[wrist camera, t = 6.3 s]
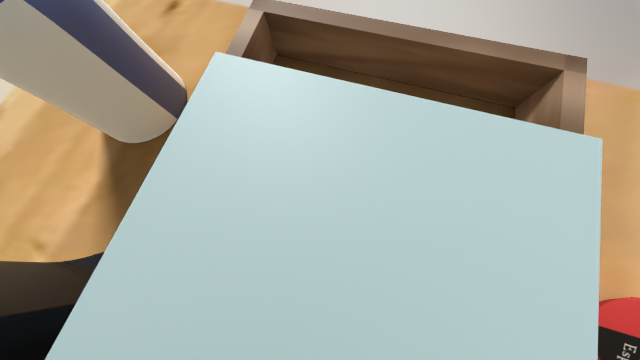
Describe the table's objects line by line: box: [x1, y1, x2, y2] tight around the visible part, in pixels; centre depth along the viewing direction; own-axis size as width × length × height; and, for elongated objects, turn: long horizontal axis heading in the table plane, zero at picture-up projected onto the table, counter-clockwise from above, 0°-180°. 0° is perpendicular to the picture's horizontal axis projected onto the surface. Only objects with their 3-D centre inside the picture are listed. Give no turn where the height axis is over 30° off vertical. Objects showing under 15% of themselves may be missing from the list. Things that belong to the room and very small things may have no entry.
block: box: [45, 52, 602, 360], centre depth 9 cm, size 5×5×13 cm
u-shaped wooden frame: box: [226, 0, 587, 135], centre depth 16 cm, size 11×22×4 cm, turn 72°
